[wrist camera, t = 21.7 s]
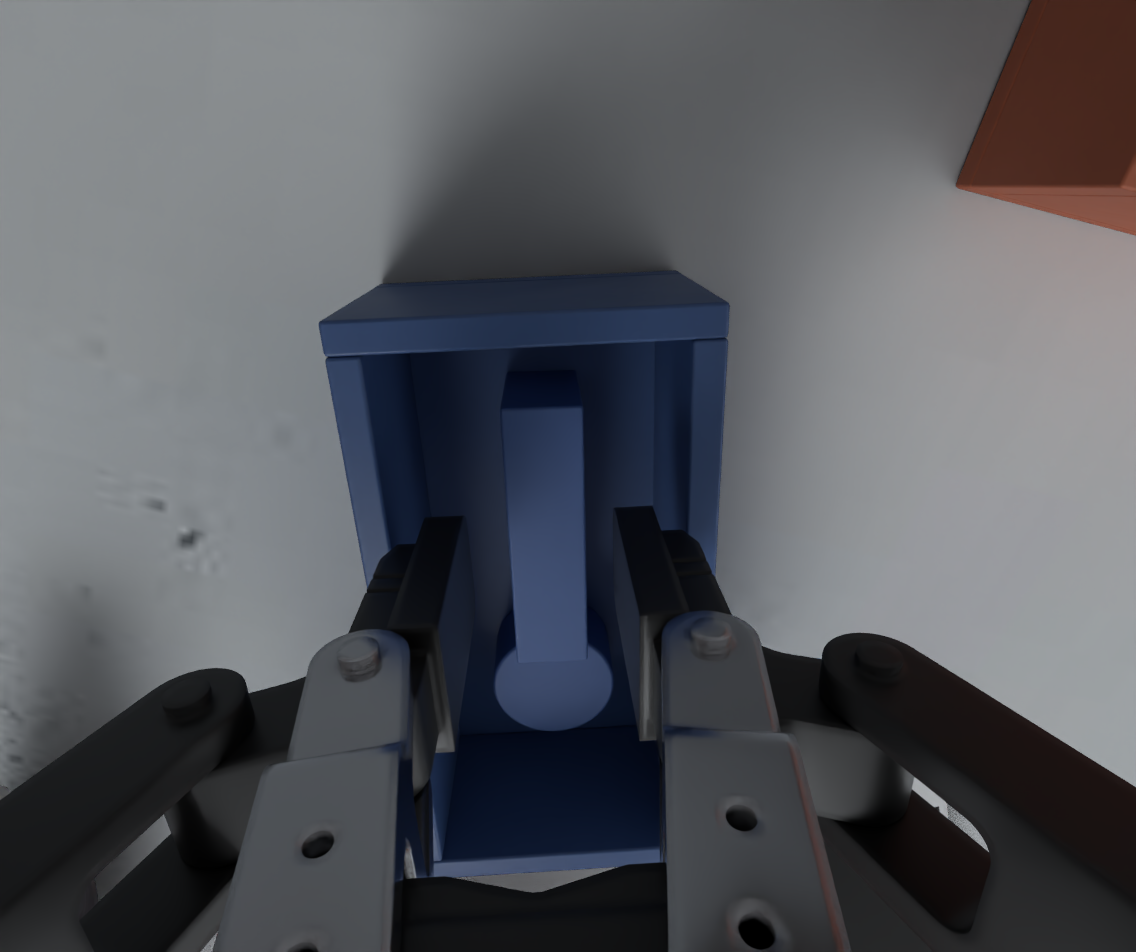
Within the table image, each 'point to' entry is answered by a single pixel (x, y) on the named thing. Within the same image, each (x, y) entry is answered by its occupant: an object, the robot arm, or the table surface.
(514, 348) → the blue bin
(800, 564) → the table surface
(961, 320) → the table surface
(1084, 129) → the orange bin
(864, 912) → the smartphone
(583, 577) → the blue spoon
